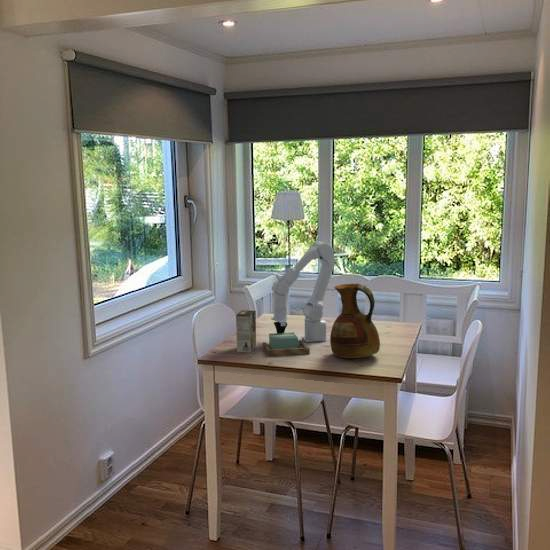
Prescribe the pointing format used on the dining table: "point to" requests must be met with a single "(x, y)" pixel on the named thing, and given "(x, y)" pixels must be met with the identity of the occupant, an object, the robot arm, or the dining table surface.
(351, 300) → the ceramic pitcher
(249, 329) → the coffee box
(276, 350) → the display stand
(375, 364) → the dining table surface
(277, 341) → the teal rectangular block
